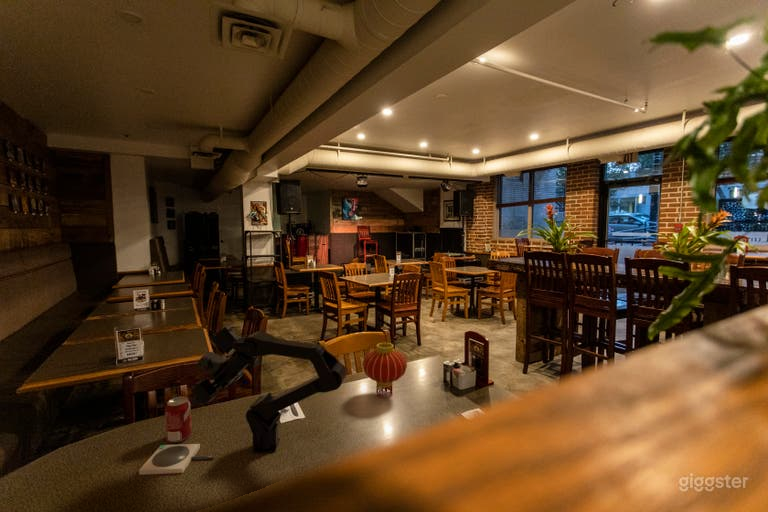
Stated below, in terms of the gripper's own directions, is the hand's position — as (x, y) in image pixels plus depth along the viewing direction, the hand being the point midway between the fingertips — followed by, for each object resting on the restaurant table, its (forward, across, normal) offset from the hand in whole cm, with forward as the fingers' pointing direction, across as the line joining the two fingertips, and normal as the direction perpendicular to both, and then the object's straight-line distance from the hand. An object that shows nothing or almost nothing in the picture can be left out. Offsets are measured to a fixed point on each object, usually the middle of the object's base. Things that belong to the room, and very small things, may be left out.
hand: (202, 397), depth 110 cm
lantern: (-26, -38, +46) cm, 65 cm away
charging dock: (+9, +10, +10) cm, 17 cm away
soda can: (+15, 0, +4) cm, 16 cm away
